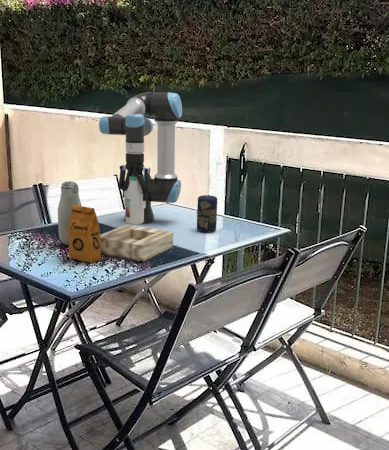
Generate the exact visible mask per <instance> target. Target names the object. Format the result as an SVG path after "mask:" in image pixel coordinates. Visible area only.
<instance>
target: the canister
mask: <svg viewBox="0 0 389 450" xmlns="http://www.w3.org/2000/svg"><path fill="white" fill-rule="evenodd" d="M197 197H198V198H197V206H196V207H197V208H196V209H197V210H196V229H197V230H198V231H199V232H202V233H212V232H214V231H216V230H217V218H218V217H217V216H218V197H216V196H215V195H209V194H205V195H204V194H203V195H200V196H197Z"/></svg>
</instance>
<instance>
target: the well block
mask: <svg viewBox="0 0 389 450" xmlns="http://www.w3.org/2000/svg"><path fill="white" fill-rule="evenodd" d="M100 238H101V255H105V256H109V257H115V258H119V257H120V259H124V258H127V259H126V260H129V259H132V260H131V261H134V260H137V261H136V262H139V261H143V262H142V263H145V262H144V261H146V260H147V261H149V260H151V259H153V258H155V257H157V256H159V255H160V254H159V253H161V254H163V253H165V252H167V251H169V250H171V249H173V248H174V231H169V230H162V229H157V228H153V227H151V228H150V227H144V226H140V225H139V226H138V225H135V224H128V223H126V225H122V226H120V227H116V228H114V229H111V230H109V231H107V232H104V233H100ZM172 247H173V248H172ZM170 248H171V249H170ZM168 249H169V250H168ZM166 250H167V251H166ZM164 251H165V252H164ZM162 252H163V253H162ZM158 254H159V255H158ZM156 255H157V256H156ZM154 256H155V257H154ZM152 257H153V258H152ZM150 258H151V259H150ZM148 259H149V260H148ZM147 261H146V262H147Z"/></svg>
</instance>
